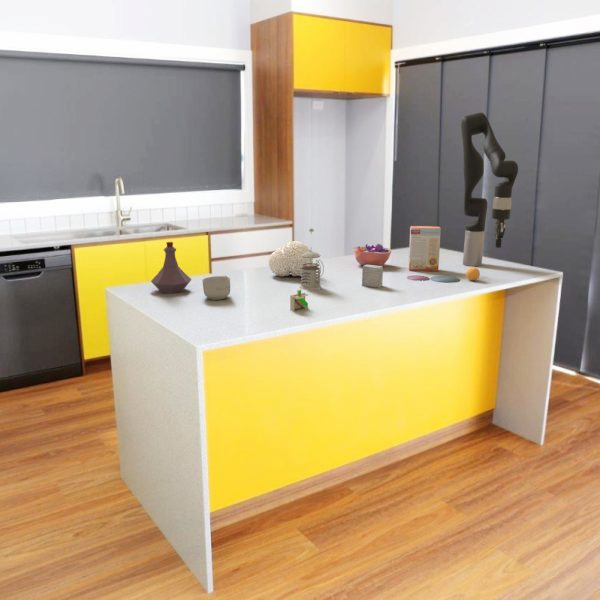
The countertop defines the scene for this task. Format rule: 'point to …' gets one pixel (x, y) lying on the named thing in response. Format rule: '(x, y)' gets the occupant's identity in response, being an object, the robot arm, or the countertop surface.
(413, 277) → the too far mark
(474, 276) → the ball
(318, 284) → the french press
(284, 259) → the cauliflower
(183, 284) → the flask
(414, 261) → the cracker box
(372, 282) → the medicine box
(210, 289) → the teacup
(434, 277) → the blue-gray disc
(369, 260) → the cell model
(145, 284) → the countertop surface
